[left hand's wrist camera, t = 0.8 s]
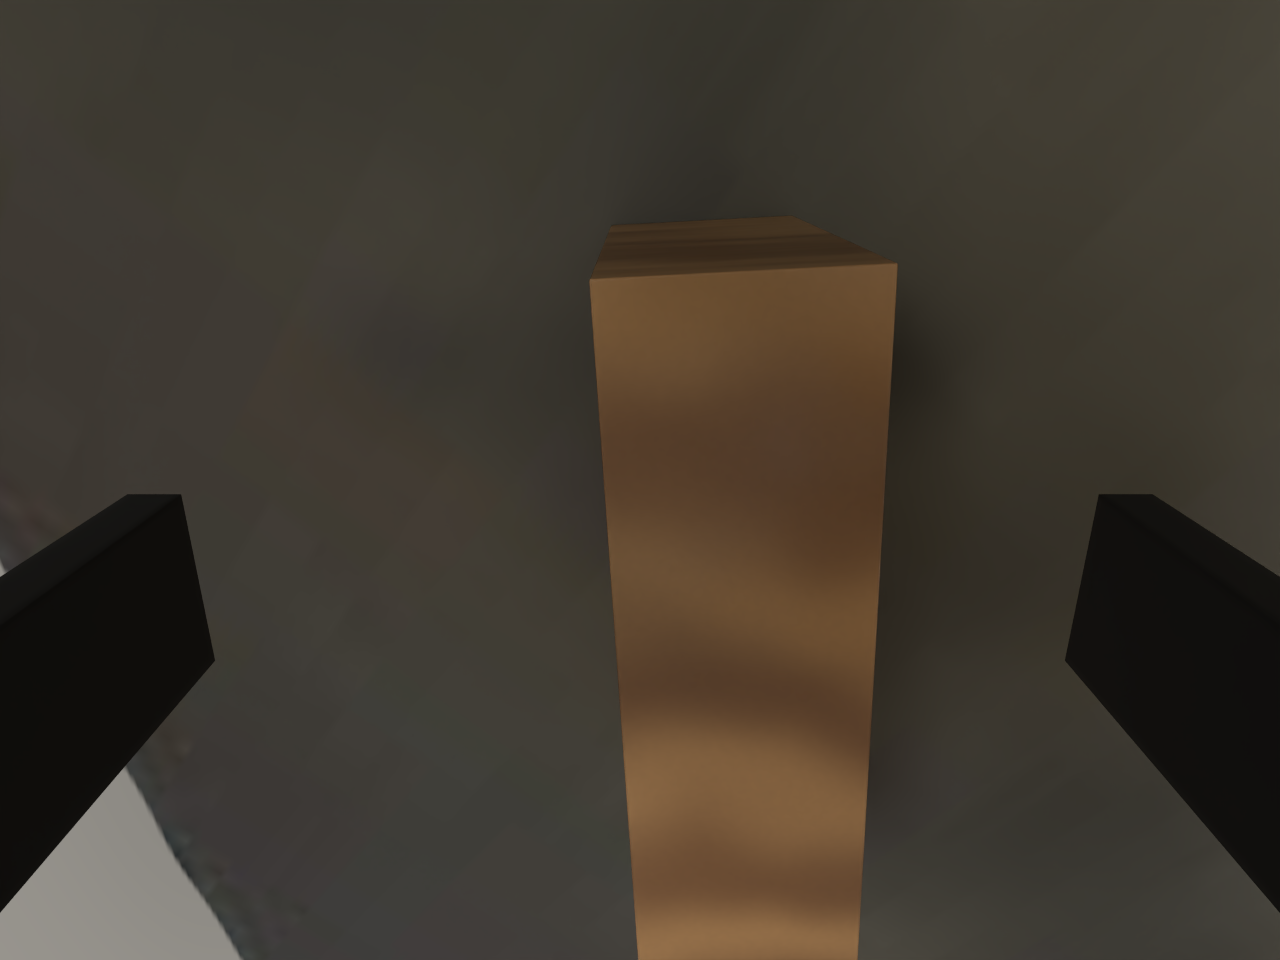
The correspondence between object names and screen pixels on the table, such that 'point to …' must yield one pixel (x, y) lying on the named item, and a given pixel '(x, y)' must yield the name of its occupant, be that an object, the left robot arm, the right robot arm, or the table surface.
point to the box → (744, 573)
